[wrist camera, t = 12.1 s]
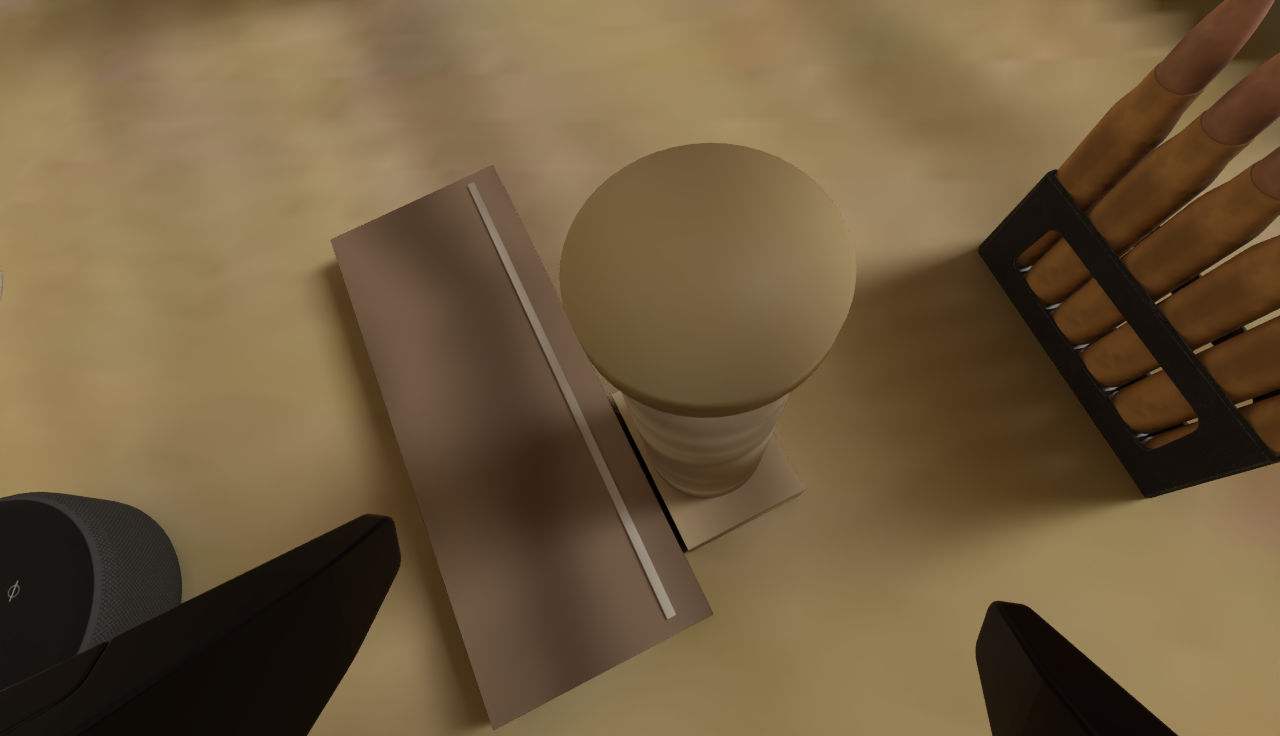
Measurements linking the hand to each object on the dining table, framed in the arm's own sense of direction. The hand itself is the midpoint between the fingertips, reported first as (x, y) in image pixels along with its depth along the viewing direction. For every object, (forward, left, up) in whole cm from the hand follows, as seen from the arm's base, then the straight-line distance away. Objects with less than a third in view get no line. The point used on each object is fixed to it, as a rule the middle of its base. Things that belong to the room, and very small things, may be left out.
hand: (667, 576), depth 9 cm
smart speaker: (-21, +9, -13) cm, 26 cm away
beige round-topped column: (+3, +4, -12) cm, 13 cm away
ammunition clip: (+17, +1, -13) cm, 21 cm away
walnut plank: (-3, +9, -13) cm, 16 cm away
